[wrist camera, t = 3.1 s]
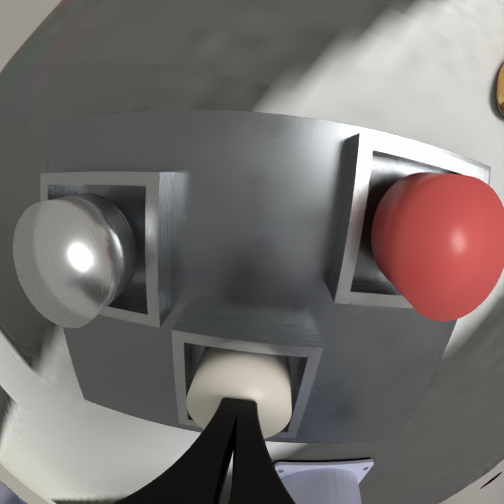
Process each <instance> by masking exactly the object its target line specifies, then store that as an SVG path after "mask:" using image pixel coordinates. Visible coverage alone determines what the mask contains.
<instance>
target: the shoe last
mask: <svg viewBox="0 0 504 504" xmlns="http://www.w3.org/2000/svg"><path fill="white" fill-rule="evenodd" d="M496 99H497V104H498V107H499V110H500V113H501V114H502V115H503V116H504V63H503V65H502V67H501V69H500V71H499V74H498V79H497V93H496Z"/></svg>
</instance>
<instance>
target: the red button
mask: <svg viewBox="0 0 504 504" xmlns="http://www.w3.org/2000/svg"><path fill="white" fill-rule="evenodd" d="M371 243H372V250H373V254H374V258H375V261H376V263H377V265H378V267H379V269H380V271H381V272H382V273H383V275H384V276H385V277H386V278H387V279H388V280H389V281H390V282H391V283H392V285H393V286H394V287H395V288H396V289H397V290H398V291H399V292H400V293H401V294H402V295H403V296H404V298H405V299H406V300H407V301H408V302H409V303H410V304H411V305H412V306H413V307H414V308H415V310H416V311H417V312H419V313H420V314H421V315H423V316H424V317H426V318H428V319H431V320H435V321H450V320H455V319H458V318H460V317H463V316H465V315H467V314H469V313H470V312H472V311H473V310H474V309H476V308H477V307H478V306H479V305H480V304H481V303H482V302H483V301H484V300H485V299H486V298H487V297H488V295H489V294H490V293H491V291H492V290H493V288H494V287H495V285H496V283H497V281H498V279H499V277H500V275H501V273H502V270H503V267H504V207H503V205H502V203H501V201H500V199H499V197H498V195H497V194H496V193H495V191H494V190H493V189H492V188H491V187H490V186H489V185H488V184H487V183H485V182H484V181H482V180H480V179H478V178H476V177H472V176H468V175H458V174H446V173H433V172H418V173H413V174H410V175H407V176H405V177H403V178H401V179H400V180H399V181H397V182H396V183H395V184H394V185H393V186H391V187H390V188H389V190H388V191H387V192H386V193H385V195H384V196H383V198H382V199H381V201H380V203H379V205H378V207H377V210H376V213H375V215H374V219H373V224H372V232H371Z"/></svg>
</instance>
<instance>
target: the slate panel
mask: <svg viewBox="0 0 504 504" xmlns="http://www.w3.org/2000/svg"><path fill="white" fill-rule="evenodd" d="M418 172H433V173H446V174H458V175H468V176H472V177H476V178H478V179H480V180H482V181H484V182H485V183H487V184H488V185H489V183H490V172H491V167H489V166H487V165H485V164H482V163H480V162H477V161H475V160H472V159H469V158H467V157H464V156H461V155H458V154H456V153H453V152H450V151H447V150H444V149H441V148H438V147H435V146H432V145H428V144H425V143H422V142H418V141H415V140H411V139H408V138H404V137H400V136H397V135H393V134H389V133H385V132H380V131H376V130H372V129H367V128H362V127H358V126H353V125H348V124H342V123H337V122H331V121H325V120H319V119H312V118H305V117H297V116H289V115H281V114H271V113H259V112H246V111H227V110H156V111H138V112H125V113H114V114H105V115H97V116H89V117H82V118H75V119H69V120H63V121H57V122H52V123H51V132H50V143H49V157H48V173H42V174H41V184H40V195H41V202H43V201H47V200H51V199H56V198H61V197H66V196H71V195H76V194H81V193H95V194H98V195H101V196H103V197H105V198H107V199H108V200H110V201H111V202H113V203H114V204H115V205H116V206H117V207H118V208H119V209H120V210H121V212H122V213H123V214H124V216H125V217H126V219H127V221H128V223H129V224H130V227H131V229H132V232H133V235H134V238H135V243H136V249H137V264H136V270H135V273H134V276H133V279H132V281H131V283H130V284H129V286H128V287H127V288H126V290H125V291H124V292H122V293H121V294H120V295H119V296H118V297H117V298H116V299H115V300H113V301H112V302H111V303H110V304H109V305H108V306H107V307H106V308H105V309H103V310H102V311H101V312H100V313H99V314H98V315H97V316H96V317H95V318H94V319H92V320H91V321H90V322H89V323H88V324H86V325H84V326H82V327H79V328H66V327H63V328H64V333H65V337H66V341H67V345H68V348H69V352H70V356H71V359H72V362H73V366H74V369H75V372H76V375H77V379H78V382H79V385H80V387H81V390H82V393H83V396H84V399H85V400H88V401H91V402H93V403H96V404H99V405H101V406H104V407H107V408H110V409H113V410H116V411H119V412H122V413H125V414H128V415H131V416H135V417H138V418H142V419H145V420H149V421H152V422H156V423H160V424H164V425H168V426H173V427H177V428H181V429H186V430H191V431H196V432H201V433H202V432H203V430H204V429H203V428H201V427H200V426H199V425H198V424H197V423H196V422H195V421H194V420H193V419H192V418H191V416H190V414H189V413H188V410H187V406H186V398H187V394H188V392H189V389H190V386H191V384H192V381H193V378H194V376H195V373H196V370H197V368H198V365H199V362H200V360H201V358H202V356H203V354H204V353H205V352H206V351H207V350H208V349H209V348H210V347H216V348H223V349H231V350H238V351H246V352H255V353H264V354H273V355H282V356H283V357H284V358H285V360H286V361H287V363H288V366H289V369H290V383H291V404H292V414H291V418H290V421H289V422H288V424H287V425H286V427H285V428H284V429H282V430H281V431H280V432H278V433H277V434H275V435H273V436H271V437H268V438H265V439H264V441H272V442H288V443H347V442H363V441H375V440H385V439H393V438H397V436H398V435H399V433H400V432H401V430H402V429H403V427H404V426H405V424H406V422H407V421H408V419H409V418H410V416H411V414H412V413H413V411H414V409H415V408H416V406H417V404H418V402H419V401H420V399H421V397H422V395H423V393H424V392H425V390H426V388H427V386H428V384H429V382H430V380H431V378H432V376H433V374H434V372H435V370H436V368H437V366H438V364H439V362H440V360H441V357H442V355H443V353H444V351H445V348H446V346H447V344H448V341H449V339H450V337H451V334H452V332H453V329H454V327H455V324H456V321H457V319H455V320H450V321H435V320H431V319H428V318H426V317H424V316H423V315H421V314H420V313H419V312H417V311H416V310H415V308H414V307H413V306H412V305H411V304H410V303H409V302H408V301H407V300H406V299H405V298H404V296H403V295H402V294H401V293H400V292H399V291H398V290H397V289H396V288H395V287H394V286H393V285H392V283H391V282H390V281H389V280H388V279H387V278H386V277H385V276H384V275H383V273H382V272H381V271H380V269H379V267H378V265H377V263H376V261H375V258H374V254H373V250H372V243H371V232H372V224H373V219H374V215H375V213H376V210H377V207H378V205H379V203H380V201H381V199H382V198H383V196H384V195H385V193H386V192H387V191H388V190H389V188H390V187H391V186H393V185H394V184H395V183H396V182H397V181H399V180H400V179H401V178H403V177H405V176H407V175H410V174H413V173H418Z"/></svg>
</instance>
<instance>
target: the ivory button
mask: <svg viewBox="0 0 504 504" xmlns="http://www.w3.org/2000/svg"><path fill="white" fill-rule="evenodd" d="M224 397H225V398H232V399H240V400H248V401H255V402H256V403H257V409H258V417H259V422H260V427H261V431H262V435H263V438H264V439H265V438H268V437H271V436H273V435H275V434H277V433H278V432H280V431H281V430H282V429H284V428H285V427H286V425H287V424H288V422H289V421H290V418H291V414H292V404H291V383H290V369H289V366H288V363H287V361H286V360H285V358H284V357H283V356H282V355H273V354H264V353H255V352H246V351H238V350H231V349H223V348H216V347H210V348H209V349H208V350H207V351H206V352H205V353H204V354H203V356H202V358H201V360H200V362H199V365H198V368H197V370H196V373H195V376H194V378H193V381H192V384H191V386H190V389H189V392H188V394H187V398H186V406H187V410H188V413H189V414H190V416H191V418H192V419H193V420H194V421H195V422H196V423H197V424H198V425H199V426H200V427H201V428H203V429H205V428H206V426H207V425H208V423H209V422H210V420H211V419H212V417H213V415H214V414H215V412H216V410H217V408H218V406H219V404H220V402H221V399H222V398H224Z"/></svg>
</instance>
